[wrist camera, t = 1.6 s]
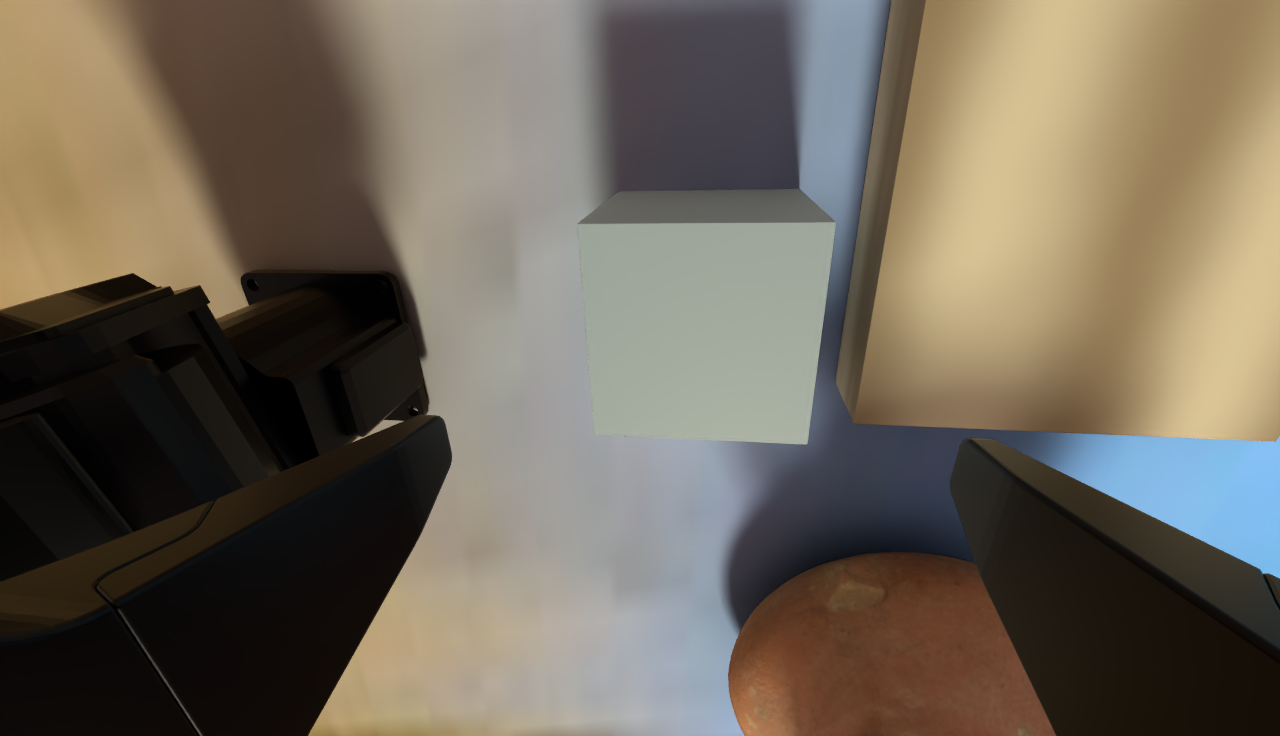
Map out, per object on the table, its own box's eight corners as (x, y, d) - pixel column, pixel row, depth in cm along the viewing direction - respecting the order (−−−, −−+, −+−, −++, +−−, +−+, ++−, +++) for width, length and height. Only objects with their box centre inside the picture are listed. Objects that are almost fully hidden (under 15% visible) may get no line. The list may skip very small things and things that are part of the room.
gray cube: (626, 350, 21) (594, 434, 15) (618, 190, 18) (577, 224, 13) (783, 355, 20) (807, 444, 14) (799, 188, 17) (836, 222, 12)
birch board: (835, 381, 20) (853, 423, 17) (891, -1, 15) (930, -26, 12) (1193, 393, 18) (1275, 441, 16) (1399, -31, 13) (1576, -69, 10)
